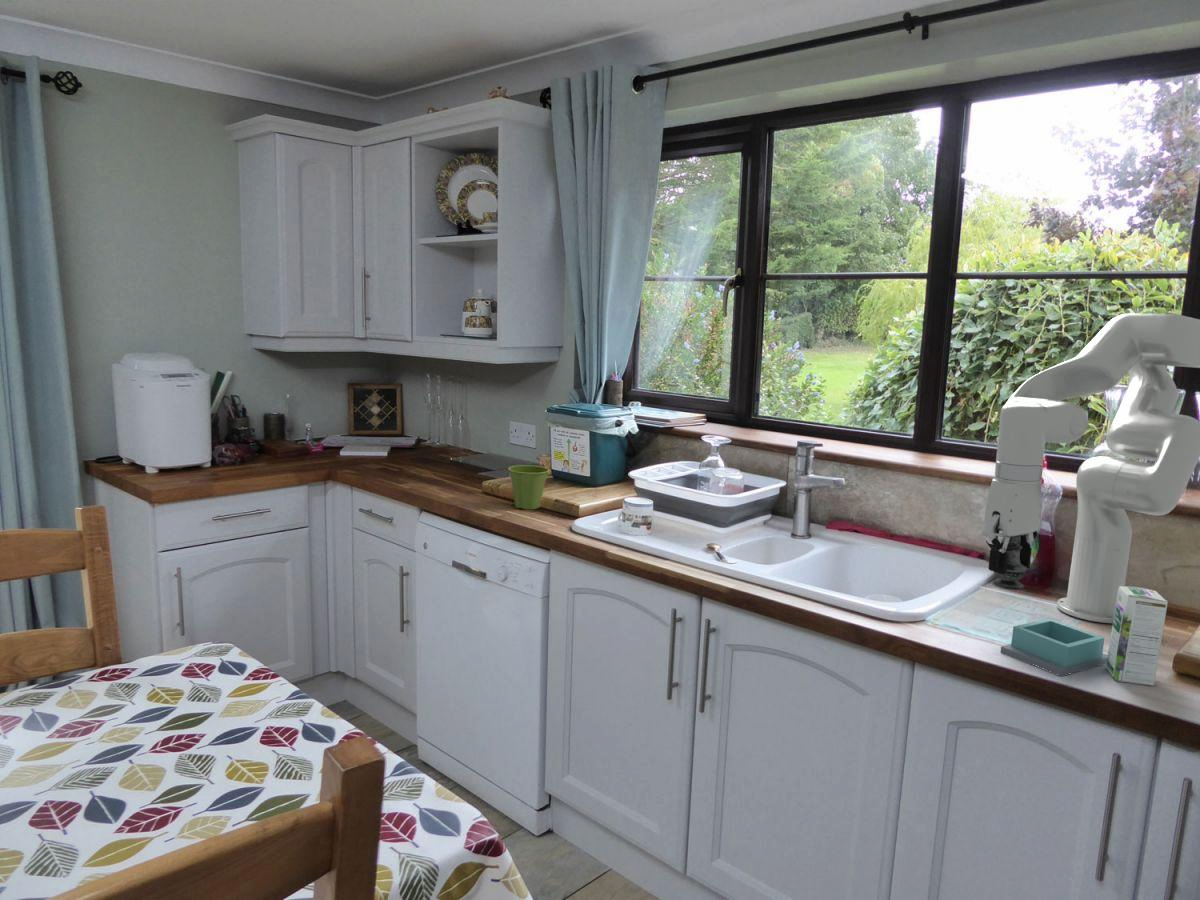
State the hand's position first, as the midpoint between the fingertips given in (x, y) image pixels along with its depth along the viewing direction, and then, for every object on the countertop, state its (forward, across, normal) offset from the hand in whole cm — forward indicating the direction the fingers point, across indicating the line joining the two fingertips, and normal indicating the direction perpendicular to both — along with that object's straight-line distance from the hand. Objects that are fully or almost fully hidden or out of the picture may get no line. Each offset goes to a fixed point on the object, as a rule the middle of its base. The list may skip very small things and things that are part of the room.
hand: (1009, 568), depth 152 cm
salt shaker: (+3, 0, 0) cm, 3 cm away
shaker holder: (+13, +1, +11) cm, 17 cm away
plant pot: (+11, +41, -123) cm, 130 cm away
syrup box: (+13, -2, +22) cm, 25 cm away
